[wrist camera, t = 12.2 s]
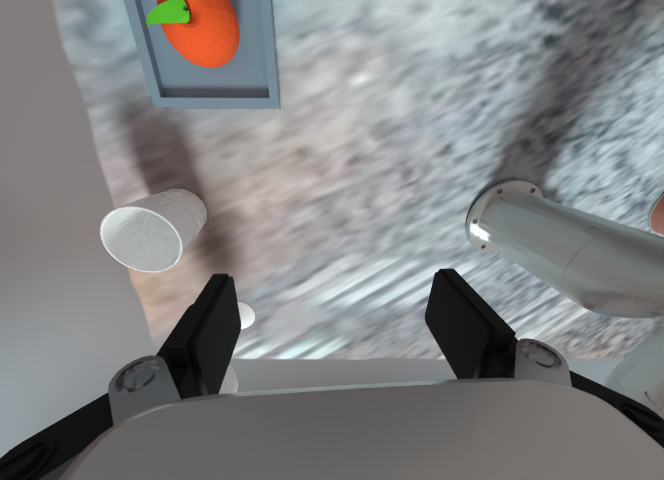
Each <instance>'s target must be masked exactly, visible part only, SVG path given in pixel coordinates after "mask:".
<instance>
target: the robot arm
mask: <svg viewBox="0 0 664 480" xmlns="http://www.w3.org/2000/svg"><path fill="white" fill-rule="evenodd" d="M466 233H467V236H468V239H469V241H470V242H471V244H472V245H474V246H475V247H476V248H477V249H479V250H480V251H483V252H486V253H492V254H493V253H502V254H503V255H505V256H506V257H508V258H509V259H511V260H512V261H514V262H515V263H517V264H518V265H520V266H521V267H523V268H524V269H526V270H527V271H529V272H530V273H532V274H533V275H535V276H536V277H538V278H539V279H541V280H542V281H544V282H545V283H547V284H548V285H550V286H551V287H552V288H554V289H555V290H557V291H559V292H560V293H562V294H563V295H565V296H566V297H568V298H569V299H571V300H572V301H574V302H575V303H577V304H578V305H580V306H582V307H583V308H586V309H588V310H590V311H592V312H595V313H599V314H602V315H607V316H613V317H623V318H652V319H654V320H655V325H654V327H653V329H652V330H651V331H650V332H649V333H648V334H647V335H646V337H645V339H644V340H643V341H642V342H641V343H640V344H639V345H638V346H637V347H636V348H635V349H634V350H633V351H632V352H631V353H630V354H629V355H628V356H627V357H626V358H625V359H624V360H623V361H622V362H621V363H620V364H619V365H618V366H617V367H616V368H615V369H614V370H613V371H612V372H611V373H610V374H609V375H608V376H607V377H606V379H605V380H604V381H603V383H602V384H601V385H600V384H598V383H596V382H594V381H592V380H590V379H587V378H585V377H583V376H581V375H579V374H576V373H574V372H572V371H570V370H569V367H568V364H567V361H566V360H565V358H564V357H563V356H562V355H561V354H560V353H559V352H558V351H556V350H555V349H554V348H552V347H550V346H549V345H547V344H545V343H543V342H540V341H537V340H534V339H527V338H526V339H521V340H519V341H518V340H517V339H516V338H515V334H516V333H515V332H514V331H513V330H512V329H511V328H510V327H509V326H508V324H507V323H506V322H505V321H504V320H503V319H502V318H501V317H500V316H499V315H498V314H497V313H496V312H495V311H494V310H493V309H492V308H491V307H490V306H489V305H488V304H487V303H486V302H485V301H484V300H483V299H482V298H481V297H480V296H479V295H478V294H477V293H476V291H475V290H474V289H473V288H472V287H471V286H470V285H469V284H468V283H467V282H466V281H465V280H464V279H463V278H462V277H461V276H460V275H459V274H458V273H457V272H456V271H455V270H454V269H439V271H438V272H436V273H435V275H434V279H433V284H432V288H431V292H430V296H429V301H428V305H427V309H426V313H425V321H426V324H427V326H428V328H429V329H430V331H431V333H432V335H433V336H434V338H435V340H436V342H437V343H438V345H439V347H440V349H441V350H442V352H443V354H444V356H445V357H446V359H447V361H448V363H449V364H450V366H451V368H452V370H453V372H454V373H455V375H456V377H457V379H456V380H434V381H416V382H396V383H379V384H360V385H343V386H326V387H311V388H295V389H279V390H264V391H263V390H262V391H249V392H238V393H224V394H219V391H220V389H221V386H222V383H223V380H224V377H225V374H226V371H227V368H228V365H229V363H230V360H231V357H232V354H233V351H234V348H235V345H236V342H237V339H238V336H239V334H240V331H241V319H240V313H239V308H238V302H237V297H236V291H235V286H234V280H233V277H229V275H228V274H213V275H212V277H211V278H210V280H209V281H208V283H207V284H206V286H205V287H204V289H203V290H202V292H201V294H200V295H199V297H198V298H197V300H196V301H195V303H194V304H192V305H190V306H189V307H188V309H187V310H186V312H185V313H184V314H183V316H182V317H181V319H180V320H179V322H178V323H177V325H176V326H175V328H174V329H173V331H172V332H171V334H170V335H169V337H168V338H167V340H166V341H165V343H164V344H163V346H162V347H161V349H160V350H159V352H158V353H157V355H156V356H151V355H150V356H145V357H141V358H139V359H137V360H134V361H132V362H131V363H129V364H127V365H126V366H124V367H123V368H122V369H121V370H119V371H118V372H117V373H116V374H115V376H114V377H113V378H112V380H111V382H110V383H109V387H108V393H106V394H105V395H103V396H101V397H100V398H98V399H96V400H94V401H93V402H91V403H89V404H87V405H86V406H84V407H82V408H80V409H79V410H77V411H75V412H73V413H72V414H70V415H68V416H67V417H65V418H63V419H61V420H60V421H58V422H56V423H54V424H53V425H51V426H49V427H47V428H46V429H44V430H42V431H41V432H39V433H37V434H35V435H34V436H32V437H30V438H28V439H27V440H25V441H23V442H22V443H20V444H19V445H17V446H16V447H14V448H13V449H11V450H10V451H9V452H7V453H6V454H5V455H4V456H3V457H1V459H0V480H664V237H661V236H658V235H655V234H652V233H649V232H646V231H643V230H639V229H636V228H633V227H630V226H627V225H624V224H620V223H617V222H614V221H611V220H608V219H605V218H602V217H599V216H596V215H593V214H590V213H586V212H583V211H580V210H577V209H574V208H571V207H568V206H565V205H562V204H559V203H556V202H553V201H549V200H546V199H544V197H543V195H542V192H541V191H540V190H539V188H538V187H537V186H535V185H534V184H532V183H529V182H526V181H522V180H510V181H505V182H502V183H500V184H497V185H495V186H494V187H492V188H490V189H489V190H487V191H486V192H485V193H484V194H483V195H482V196H481V197H480V198H479V199H478V200H477V201H476V203H475V204H474V205H473V207H472V209H471V211H470V213H469V215H468V218H467V223H466Z"/></svg>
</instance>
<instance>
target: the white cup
mask: <svg viewBox="0 0 664 480" xmlns="http://www.w3.org/2000/svg"><path fill="white" fill-rule="evenodd" d="M206 222H207V210H206V207H205V205H204V202H203V201H202V200H201V199H200V198H199V197H198V196H197V195H196V194H194V193H192V192H190V191H187V190H185V189H174V188H172V189H169V190H167V191H164V192H161V193H156V194H154V195H151V196H148V197H145V198H142V199H140V200H137V201H135V202H132V203H130V204H127V205H125V206H122V207H119V208H117V209H115V210H113V211H111V212H109V213H108V214H107V215H106V216H105V217H104V219H103V221H102V223H101V227H100V235H101V240H102V242H103V244H104V246H105V248H106V249H107V251H108V252H109V253H110V254H111V255H112V256H113V257H114V258H115V259H116V260H117V261H119V262H120V263H122V264H123V265H125V266H127V267H129V268H132V269H134V270H138V271H142V272H161V271H164V270H167V269H169V268H171V267H172V266H174V265H175V264H176V263H177V262H178V261H179V259H180V258H181V257H182V255H183V254H184V253H185V251H186V250H187V249H188V248H189V246H190V245H191V244H192V243H193V241H194V240H195V238H196V237H197V235H198V234H199V232H200V230H201V228H202V227H203V226H204V225H205V223H206Z"/></svg>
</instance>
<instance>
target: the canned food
mask: <svg viewBox="0 0 664 480" xmlns="http://www.w3.org/2000/svg"><path fill="white" fill-rule="evenodd" d="M648 225H649V228H650V229H651V230H652V231H653V232H655V233H658V234H663V235H664V192H663V193H662V195H661V196H660V197H659V198H658V199H657V201H656V202H655V203H654V205H653V207H652V209H651V211H650V213H649V217H648Z"/></svg>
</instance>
